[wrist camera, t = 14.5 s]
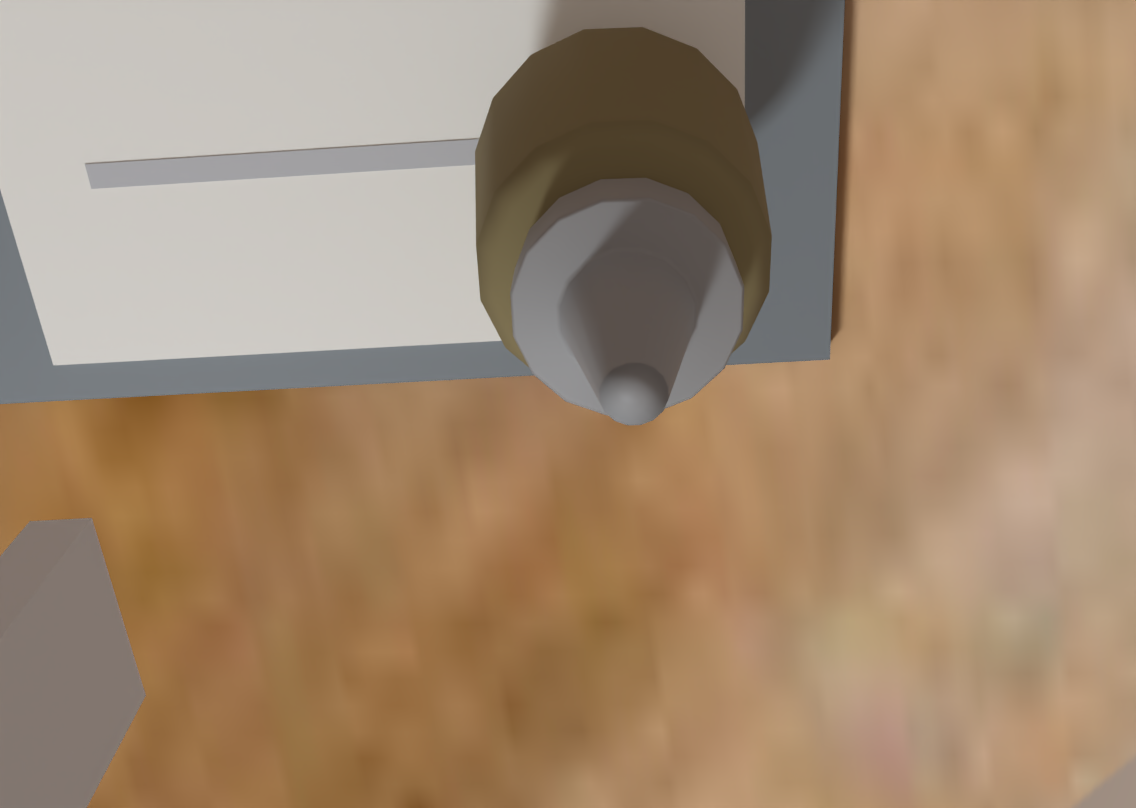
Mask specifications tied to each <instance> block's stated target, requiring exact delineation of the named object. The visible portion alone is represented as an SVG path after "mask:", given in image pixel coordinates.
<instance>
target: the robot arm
mask: <svg viewBox="0 0 1136 808" xmlns="http://www.w3.org/2000/svg"><path fill="white" fill-rule="evenodd" d="M145 696H146V695H145V692H144V688H143V685H142V682H141V678H140V675H139V672H138V669H137V665H136V662H135V659H134V655H133V652H132V649H131V646H130V642H129V639H128V636H127V632H126V629H125V626H124V623H123V619H122V616H121V613H120V609H119V606H118V603H117V600H116V596H115V593H114V590H113V586H112V583H111V580H110V577H109V573H108V570H107V567H106V563H105V560H104V557H103V554H102V550H101V547H100V544H99V540H98V537H97V534H96V531H95V527H94V524H93V521H92V518H84V519H65V520H47V521H30V522H29V523H28V524H27V525H26V527H25V528H24V529H23V530H22V531H21V532H20V534H19V535H18V536H17V537H16V538H15V539H14V541H13V542H12V543H11V544H10V545H9V547H8V548H7V549H6V550H5V551H4V552H3V554H2V555H1V556H0V808H87V806H88V804H89V802H90V800H91V798H92V796H93V794H94V793H95V791H96V789H97V787H98V785H99V783H100V781H101V779H102V777H103V775H104V774H105V772H106V770H107V768H108V766H109V764H110V762H111V760H112V758H113V756H114V755H115V753H116V751H117V749H118V747H119V745H120V743H121V741H122V739H123V738H124V736H125V734H126V732H127V730H128V728H129V726H130V724H131V722H132V720H133V719H134V717H135V715H136V713H137V711H138V709H139V707H140V705H141V703H142V702H143V700H144V698H145Z"/></svg>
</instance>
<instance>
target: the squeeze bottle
mask: <svg viewBox="0 0 1136 808" xmlns="http://www.w3.org/2000/svg"><path fill="white" fill-rule="evenodd" d="M475 198H476V252H477V264H478V277H479V290H480V300H481V302H482V304H483V306H484V308H485V310H486V312H487V314H488V316H489V317H490V319H491V321H492V323H493V325H494V327H495V329H496V331H497V333H498V335H499V336H500V338H501V340H502V342H503V344H504V346H505V348H506V349H507V350H509V351H510V352H511V353H512V354H513V355H515V356H516V357H517V358H518V359H519V360H521V361H522V362H523V363H524V364H525V365H527V366H528V367H529V368H530V370H531V372H532V374H533V375H535V376H536V377H537V378H538V379H539V380H541V381H542V382H543V383H544V384H545V385H547V386H548V387H549V388H550V389H551V390H553V391H554V392H555V393H556V394H557V395H559V396H560V397H561V398H562V399H563V400H565V401H566V402H569V403H572V404H575V405H578V406H581V407H584V408H587V409H590V410H593V411H595V412H598V413H601V414H604V415H609V416H610V417H611V418H612V419H613V420H615V421H617V422H620V423H623V424H626V425H642V424H644V423H647V422H649V421H652V420H654V419H655V418H656V417H657V416H658V415H659V414H660V413H662V412H663V410H664V409H665V408H668V407H670V406H673V405H675V404H678V403H680V402H683V401H685V400H688V399H691V398H692V397H693V396H695V395H696V394H697V393H698V392H699V391H700V390H701V389H702V388H703V387H704V386H706V385H707V384H708V383H709V382H710V381H711V380H712V379H713V378H714V377H715V376H717V375H718V374H719V373H720V372H721V371H722V370H723V369H724V368H725V366H726V364H727V362H728V360H729V357H730V355H731V354H732V353H733V352H734V351H735V350H736V349H737V348H738V347H739V346H741V345H742V344H743V343H744V342H745V341H746V339H747V337H748V335H749V332H750V330H751V328H752V326H753V324H754V322H755V320H756V318H757V316H758V314H759V312H760V310H761V308H762V305H763V303H764V301H765V299H766V297H767V295H768V293H769V286H770V265H771V243H772V234H771V227H770V221H769V214H768V208H767V201H766V195H765V188H764V182H763V175H762V169H761V162H760V156H759V149H758V143H757V140H756V137H755V134H754V132H753V129H752V127H751V124H750V121H749V119H748V116H747V113H746V111H745V108H744V106H743V103H742V100H741V98H740V95H739V93H738V90H737V89H736V87H735V86H734V85H733V84H732V83H731V82H730V81H729V80H728V79H727V78H726V77H725V76H724V75H723V74H722V73H721V72H720V71H719V70H718V69H717V68H716V67H715V66H714V65H713V64H712V63H711V62H710V61H709V60H708V59H707V58H706V57H705V56H704V55H703V54H702V53H701V52H700V51H699V50H698V49H697V48H695V47H692V46H690V45H687V44H684V43H682V42H679V41H677V40H674V39H672V38H669V37H667V36H664V35H662V34H659V33H657V32H654V31H652V30H649V29H646V28H644V27H630V28H604V29H583V30H581V31H579V32H577V33H575V34H573V35H571V36H569V37H567V38H565V39H562V40H560V41H558V42H556V43H554V44H552V45H550V46H548V47H546V48H544V49H542V50H540V51H537V52H535V53H533V54H531V55H530V56H529V57H528V58H527V60H526V61H525V62H524V63H523V64H522V65H521V66H520V68H519V69H518V70H517V71H516V72H515V73H514V74H513V76H512V77H511V78H510V79H509V80H508V81H507V82H506V84H505V85H504V86H503V87H502V88H501V89H500V90H499V92H498V93H497V94H496V95H495V96H494V97H493V99H492V102H491V105H490V108H489V111H488V114H487V117H486V120H485V123H484V126H483V129H482V132H481V135H480V138H479V141H478V144H477V147H476V150H475Z"/></svg>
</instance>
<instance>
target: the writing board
mask: <svg viewBox="0 0 1136 808" xmlns="http://www.w3.org/2000/svg"><path fill="white" fill-rule="evenodd" d="M844 7H845V0H0V404H8V403H27V402H45V401H64V400H83V399H101V398H120V397H138V396H157V395H176V394H194V393H213V392H232V391H250V390H269V389H288V388H306V387H325V386H344V385H362V384H381V383H399V382H418V381H437V380H455V379H474V378H493V377H511V376H530V375H533V374H532V372H531V370H530V368H529V367H528V366H527V365H525V364H524V363H523V362H522V361H521V360H519V359H518V358H517V357H516V356H515V355H513V354H512V353H511V352H510V351H509V350H507V349H506V348H505V346H504V344H503V342H502V340H501V338H500V336H499V335H498V333H497V331H496V329H495V327H494V325H493V323H492V321H491V319H490V317H489V316H488V314H487V312H486V310H485V308H484V306H483V304H482V302H481V300H480V290H479V277H478V264H477V252H476V198H475V150H476V147H477V144H478V141H479V138H480V135H481V132H482V129H483V126H484V123H485V120H486V117H487V114H488V111H489V108H490V105H491V102H492V99H493V97H494V96H495V95H496V94H497V93H498V92H499V90H500V89H501V88H502V87H503V86H504V85H505V84H506V82H507V81H508V80H509V79H510V78H511V77H512V76H513V74H514V73H515V72H516V71H517V70H518V69H519V68H520V66H521V65H522V64H523V63H524V62H525V61H526V60H527V58H528V57H529V56H530V55H531V54H533V53H535V52H537V51H540V50H542V49H544V48H546V47H548V46H550V45H552V44H554V43H556V42H558V41H560V40H562V39H565V38H567V37H569V36H571V35H573V34H575V33H577V32H579V31H581V30H583V29H604V28H630V27H644V28H646V29H649V30H652V31H654V32H657V33H659V34H662V35H664V36H667V37H669V38H672V39H674V40H677V41H679V42H682V43H684V44H687V45H690V46H692V47H695V48H697V49H698V50H699V51H700V52H701V53H702V54H703V55H704V56H705V57H706V58H707V59H708V60H709V61H710V62H711V63H712V64H713V65H714V66H715V67H716V68H717V69H718V70H719V71H720V72H721V73H722V74H723V75H724V76H725V77H726V78H727V79H728V80H729V81H730V82H731V83H732V84H733V85H734V86H735V87H736V89H737V90H738V93H739V95H740V98H741V100H742V103H743V106H744V108H745V111H746V113H747V116H748V119H749V121H750V124H751V127H752V129H753V132H754V134H755V137H756V140H757V143H758V149H759V156H760V162H761V169H762V175H763V182H764V188H765V195H766V201H767V208H768V214H769V221H770V227H771V234H772V243H771V265H770V286H769V293H768V295H767V297H766V299H765V301H764V303H763V305H762V308H761V310H760V312H759V314H758V316H757V318H756V320H755V322H754V324H753V326H752V328H751V330H750V332H749V335H748V337H747V339H746V341H745V342H744V343H743V344H742V345H741V346H739V347H738V348H737V349H736V350H735V351H734V352H733V353H732V354H731V355H730V357H729V360H728V362H727V364H726V365H735V364H754V363H772V362H791V361H810V360H828V359H830V341H831V317H832V293H833V269H834V245H835V221H836V197H837V174H838V150H839V126H840V102H841V78H842V54H843V30H844Z"/></svg>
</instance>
